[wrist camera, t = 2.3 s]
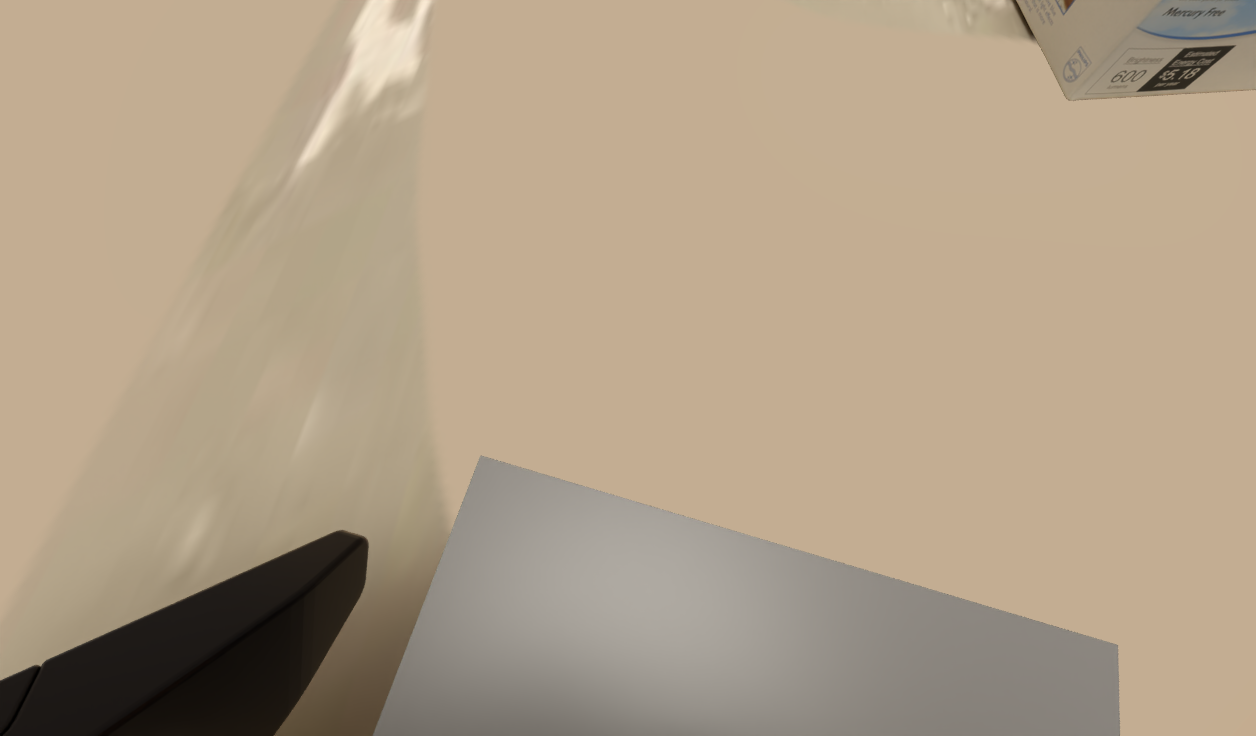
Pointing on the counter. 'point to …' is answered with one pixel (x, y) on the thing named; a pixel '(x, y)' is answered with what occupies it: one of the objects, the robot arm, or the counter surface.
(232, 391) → the counter surface
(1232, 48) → the light bulb box
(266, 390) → the counter surface
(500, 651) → the grey square bottle
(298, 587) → the robot arm
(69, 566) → the counter surface
